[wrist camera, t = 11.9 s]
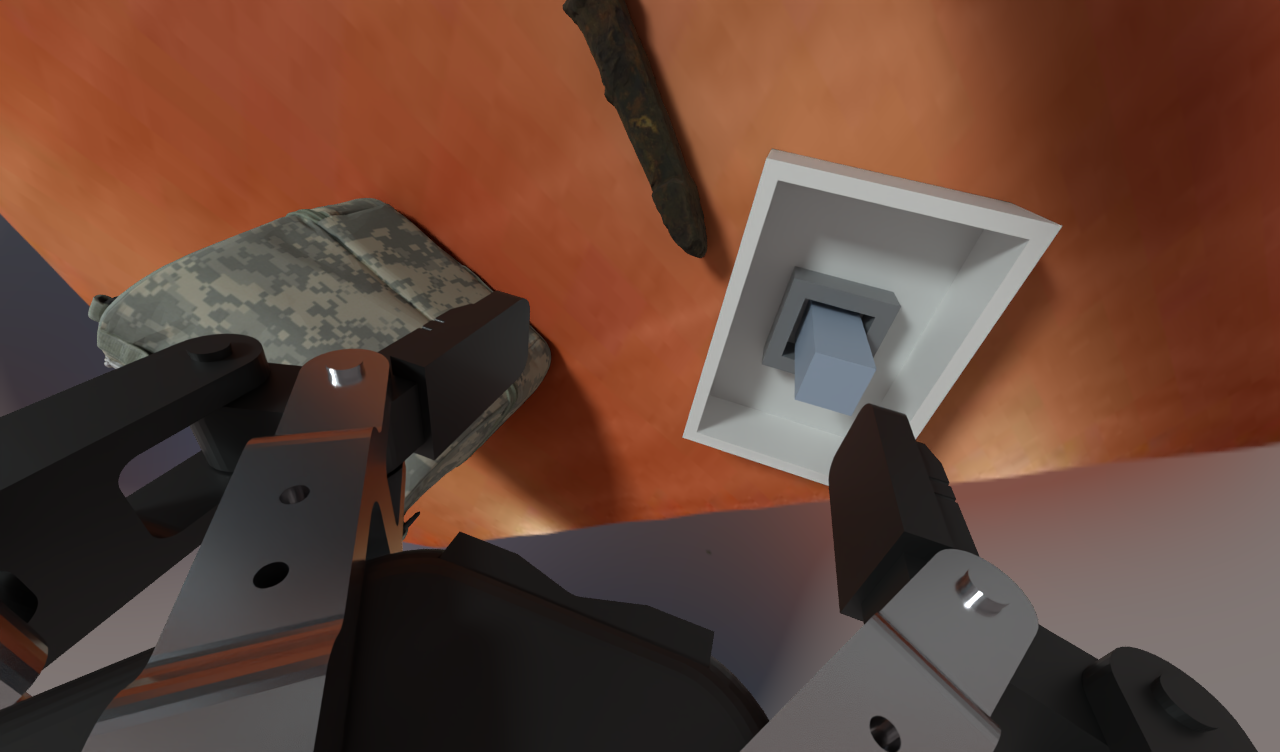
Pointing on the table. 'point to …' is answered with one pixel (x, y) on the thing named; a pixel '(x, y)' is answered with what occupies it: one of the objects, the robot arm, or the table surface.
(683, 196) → the hand tool
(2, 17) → the table surface
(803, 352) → the plug
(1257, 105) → the table surface
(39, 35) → the table surface
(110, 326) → the lunch bag
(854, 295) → the walled box
